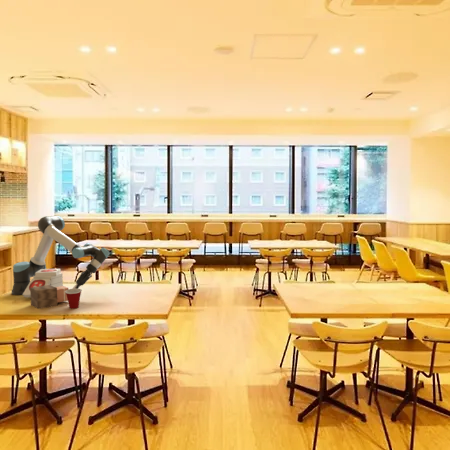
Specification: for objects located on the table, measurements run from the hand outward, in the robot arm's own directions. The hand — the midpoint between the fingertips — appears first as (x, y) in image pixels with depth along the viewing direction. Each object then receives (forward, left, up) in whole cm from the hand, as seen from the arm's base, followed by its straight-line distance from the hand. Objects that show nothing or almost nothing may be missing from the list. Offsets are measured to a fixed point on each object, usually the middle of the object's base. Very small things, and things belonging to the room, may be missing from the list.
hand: (72, 292), depth 317 cm
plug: (-5, -10, -5) cm, 12 cm away
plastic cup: (+15, -16, -6) cm, 23 cm away
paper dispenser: (-30, +5, -6) cm, 31 cm away
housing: (-9, -18, -6) cm, 21 cm away
